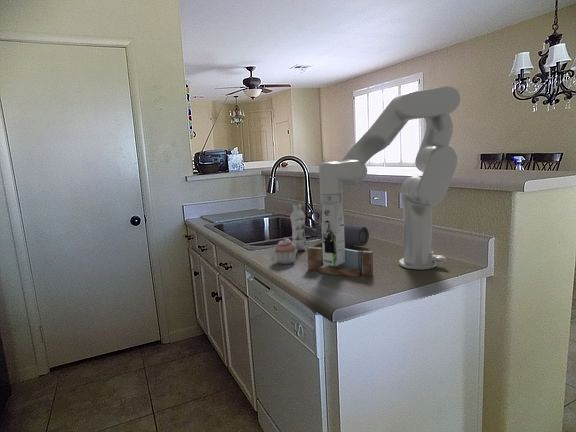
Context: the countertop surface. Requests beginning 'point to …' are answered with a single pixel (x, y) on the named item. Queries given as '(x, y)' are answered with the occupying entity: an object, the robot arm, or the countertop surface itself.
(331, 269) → the door frame
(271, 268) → the countertop surface
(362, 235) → the bluetooth speaker
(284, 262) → the cupcake
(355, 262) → the door
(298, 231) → the plastic bottle
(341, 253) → the syrup box
